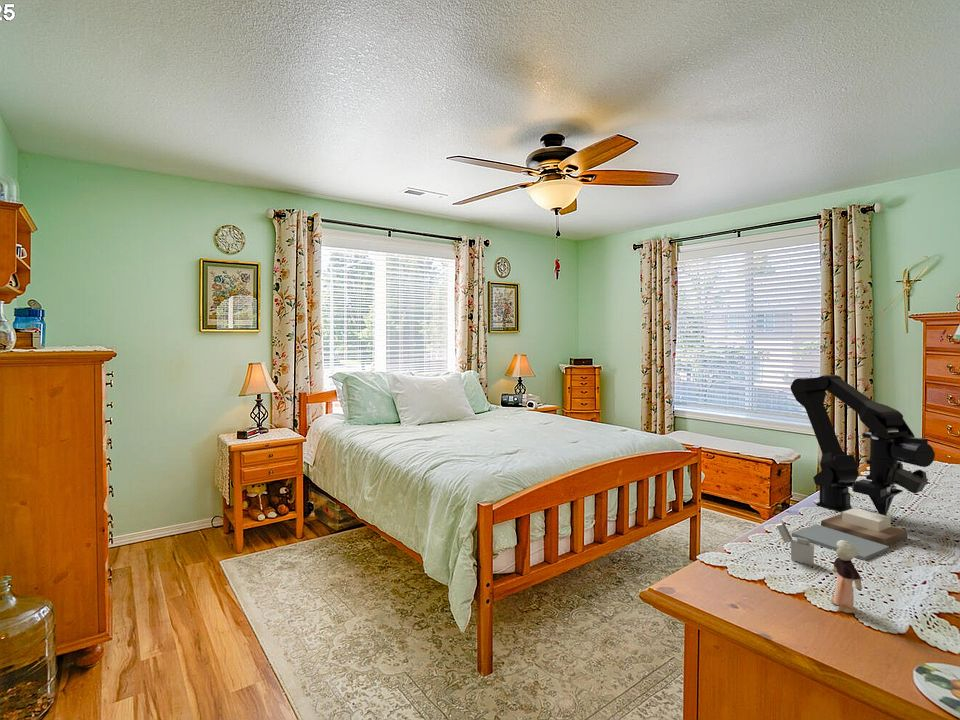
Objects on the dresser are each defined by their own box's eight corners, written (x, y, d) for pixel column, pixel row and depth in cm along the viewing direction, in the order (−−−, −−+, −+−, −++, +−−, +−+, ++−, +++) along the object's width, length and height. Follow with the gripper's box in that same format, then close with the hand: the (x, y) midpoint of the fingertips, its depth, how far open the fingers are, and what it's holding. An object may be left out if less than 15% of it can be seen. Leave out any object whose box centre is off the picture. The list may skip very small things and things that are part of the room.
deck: (821, 528, 129) (821, 520, 129) (843, 520, 134) (843, 512, 134) (884, 547, 116) (884, 539, 116) (907, 538, 122) (907, 530, 121)
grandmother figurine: (819, 597, 95) (820, 533, 95) (838, 596, 96) (838, 532, 95) (852, 620, 88) (853, 551, 87) (872, 619, 88) (873, 549, 88)
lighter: (813, 563, 110) (814, 527, 109) (812, 565, 108) (812, 530, 108) (777, 554, 115) (777, 520, 114) (775, 556, 113) (775, 522, 113)
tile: (842, 521, 128) (842, 511, 128) (854, 517, 131) (854, 507, 131) (878, 531, 121) (878, 521, 121) (890, 526, 124) (890, 517, 124)
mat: (791, 535, 124) (791, 532, 124) (816, 527, 130) (816, 524, 130) (864, 560, 110) (864, 557, 110) (889, 549, 115) (889, 546, 115)
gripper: (904, 469, 118) (903, 533, 118) (939, 458, 126) (938, 518, 127) (851, 459, 127) (850, 519, 128) (887, 450, 136) (886, 506, 137)
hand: (882, 515), depth 130 cm, fingers closed
